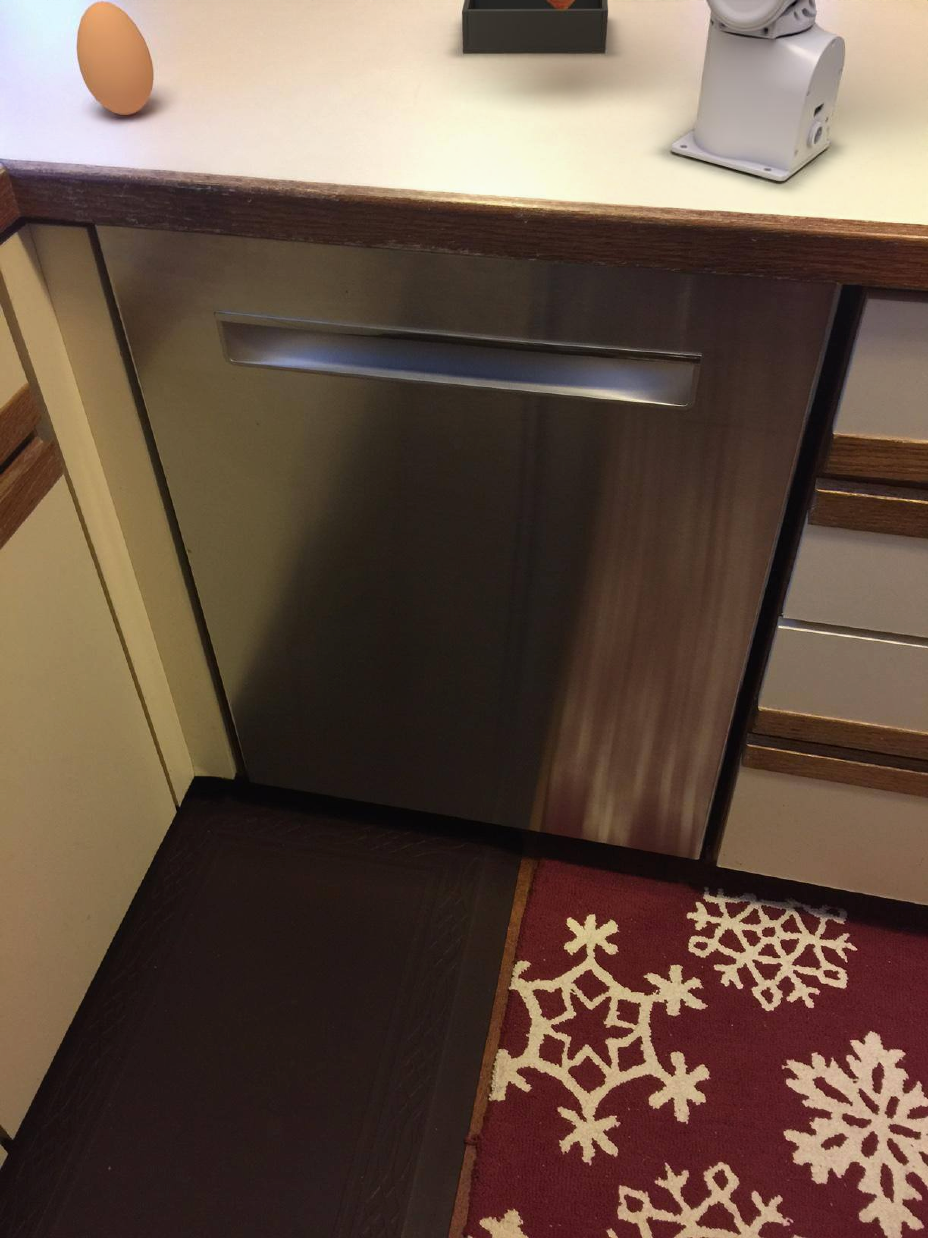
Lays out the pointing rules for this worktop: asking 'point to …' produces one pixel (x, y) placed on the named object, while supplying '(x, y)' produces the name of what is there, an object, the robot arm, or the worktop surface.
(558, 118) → the worktop surface
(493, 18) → the bin
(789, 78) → the robot arm
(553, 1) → the onion
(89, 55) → the egg
